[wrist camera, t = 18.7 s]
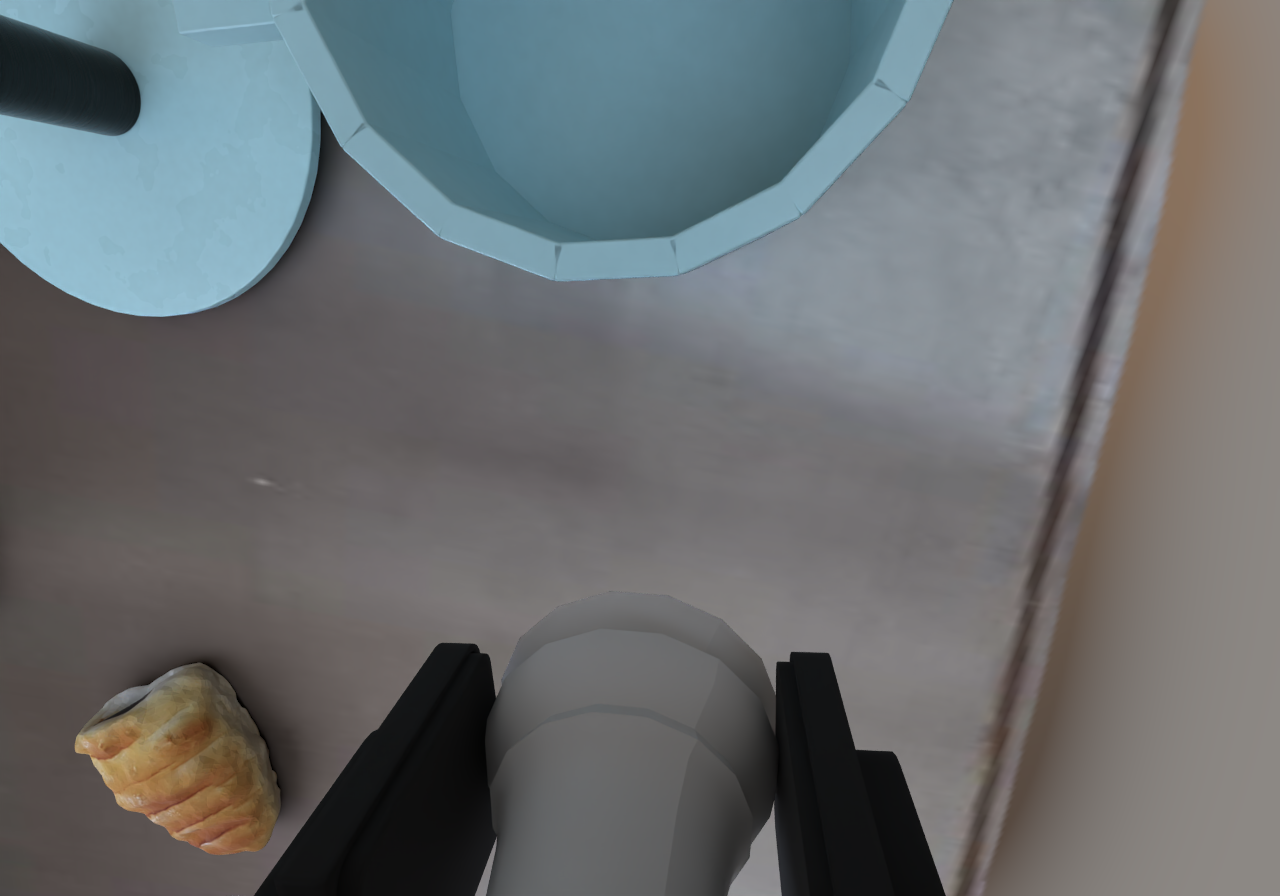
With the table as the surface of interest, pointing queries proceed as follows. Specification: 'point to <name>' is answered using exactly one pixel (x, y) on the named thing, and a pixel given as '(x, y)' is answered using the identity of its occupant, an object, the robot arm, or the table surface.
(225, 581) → the table surface
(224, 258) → the pot lid
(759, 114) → the pot
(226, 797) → the pastry
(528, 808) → the rook chess piece
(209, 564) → the table surface
